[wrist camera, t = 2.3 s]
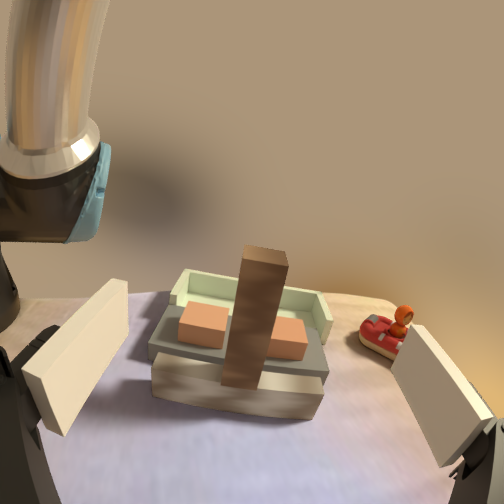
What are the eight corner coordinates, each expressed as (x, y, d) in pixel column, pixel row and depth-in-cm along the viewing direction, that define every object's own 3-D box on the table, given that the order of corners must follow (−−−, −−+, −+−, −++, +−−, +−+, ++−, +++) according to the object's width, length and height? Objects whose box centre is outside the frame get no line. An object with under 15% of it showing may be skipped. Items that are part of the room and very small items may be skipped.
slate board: (148, 359, 30) (147, 342, 29) (168, 319, 39) (169, 303, 38) (322, 387, 31) (329, 371, 30) (311, 343, 39) (316, 328, 39)
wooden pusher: (151, 398, 25) (152, 242, 20) (159, 378, 28) (165, 230, 23) (312, 422, 26) (372, 280, 21) (308, 401, 29) (359, 264, 24)
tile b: (258, 355, 31) (262, 337, 31) (258, 330, 36) (262, 313, 35) (302, 360, 31) (308, 343, 31) (297, 336, 36) (302, 319, 35)
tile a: (177, 340, 31) (178, 322, 30) (186, 317, 36) (188, 300, 35) (222, 349, 31) (225, 331, 30) (226, 325, 36) (229, 308, 35)
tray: (168, 319, 39) (169, 293, 38) (183, 291, 47) (185, 268, 46) (325, 344, 40) (333, 320, 38) (315, 313, 48) (321, 291, 47)
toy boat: (415, 376, 34) (439, 331, 32) (349, 342, 41) (366, 298, 39) (425, 354, 40) (444, 313, 37) (367, 326, 47) (382, 286, 44)
